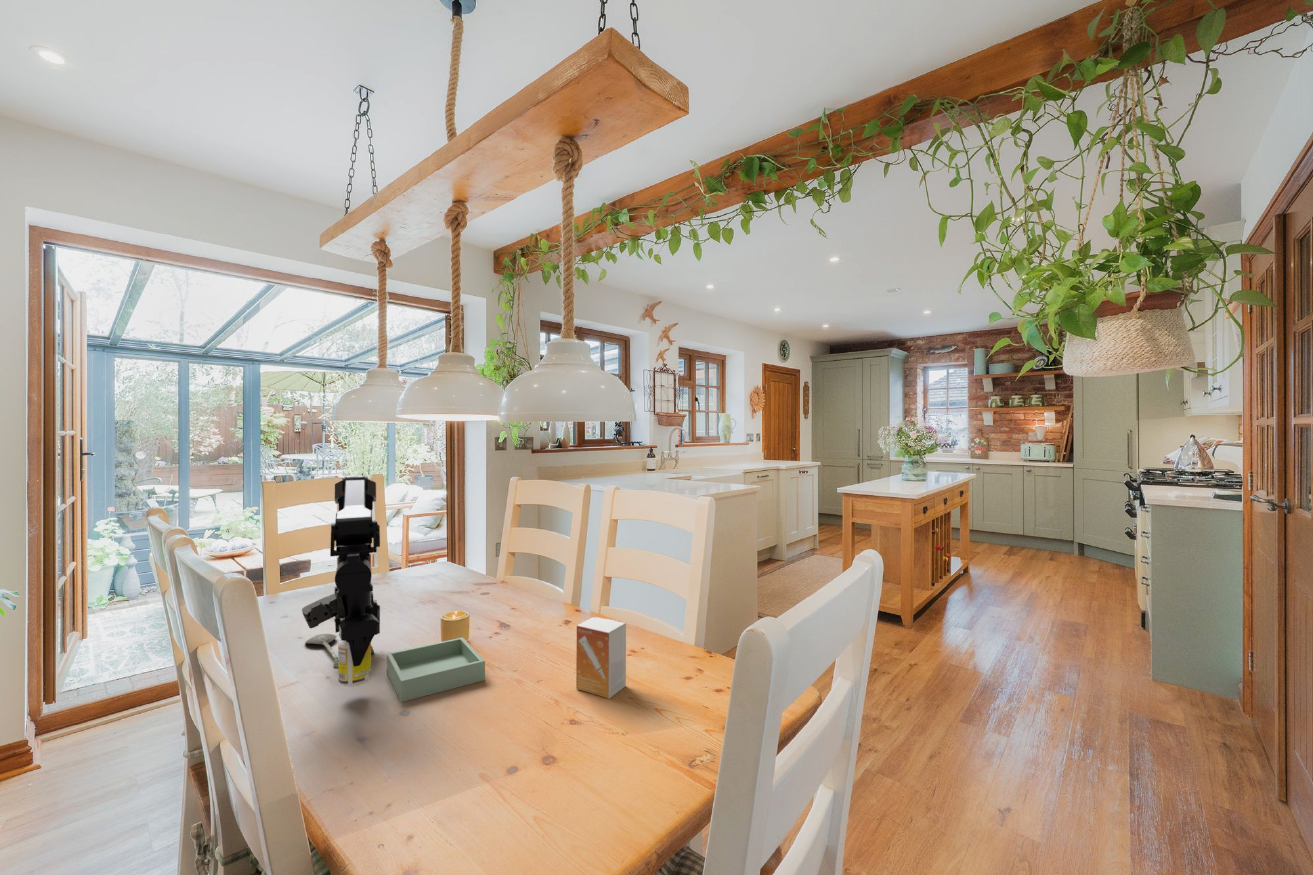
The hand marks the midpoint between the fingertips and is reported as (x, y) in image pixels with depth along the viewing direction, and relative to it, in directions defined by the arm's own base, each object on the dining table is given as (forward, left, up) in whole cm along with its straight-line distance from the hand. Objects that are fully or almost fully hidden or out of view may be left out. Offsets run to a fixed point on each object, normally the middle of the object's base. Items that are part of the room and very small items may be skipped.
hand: (354, 660), depth 106 cm
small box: (+24, +41, -8) cm, 48 cm away
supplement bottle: (0, 0, -4) cm, 4 cm away
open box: (-1, +15, -7) cm, 17 cm away
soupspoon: (-29, -3, -8) cm, 30 cm away
